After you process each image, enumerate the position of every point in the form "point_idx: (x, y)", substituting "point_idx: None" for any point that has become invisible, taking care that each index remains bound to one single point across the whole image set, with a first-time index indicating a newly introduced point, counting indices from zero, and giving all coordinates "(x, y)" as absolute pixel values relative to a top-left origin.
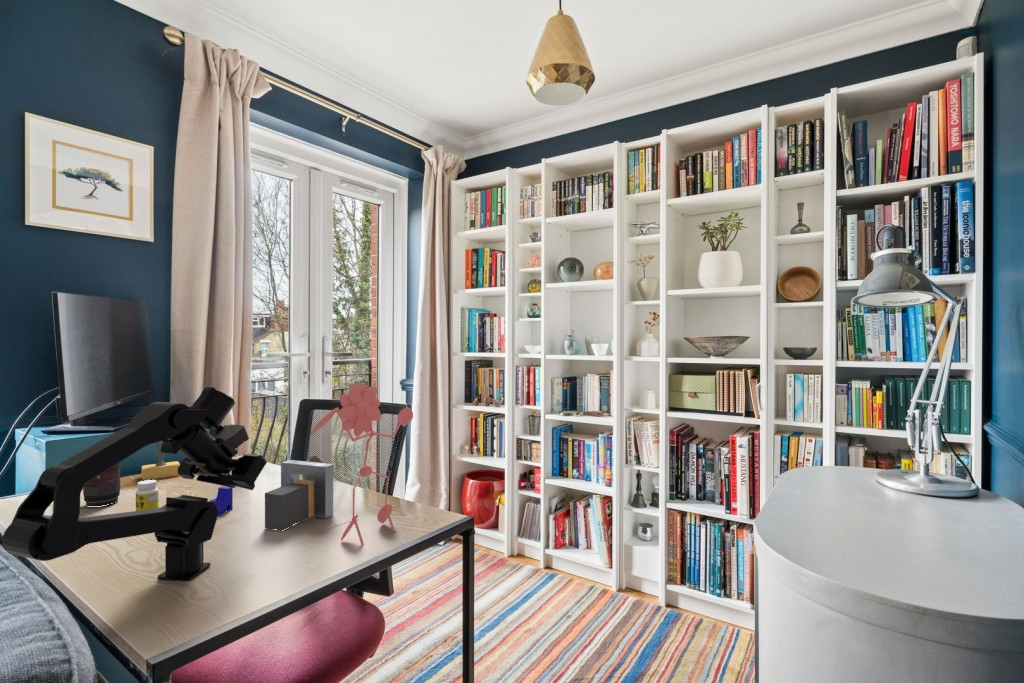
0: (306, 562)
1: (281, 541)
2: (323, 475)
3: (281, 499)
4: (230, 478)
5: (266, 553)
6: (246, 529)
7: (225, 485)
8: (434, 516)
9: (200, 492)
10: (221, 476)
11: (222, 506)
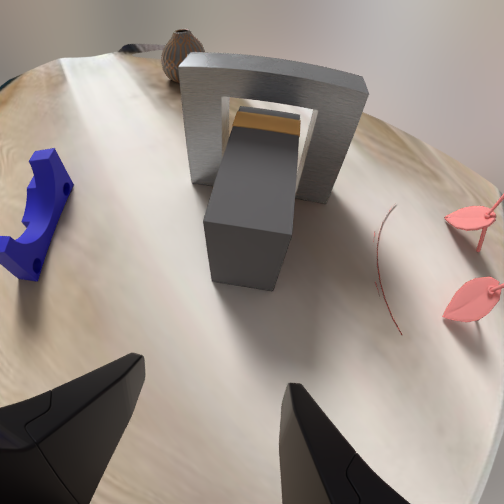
0: (437, 432)
1: (316, 354)
2: (353, 114)
3: (286, 244)
4: (109, 405)
5: None
6: (162, 291)
7: (117, 443)
8: (474, 185)
9: (12, 142)
10: (74, 475)
11: (55, 199)
